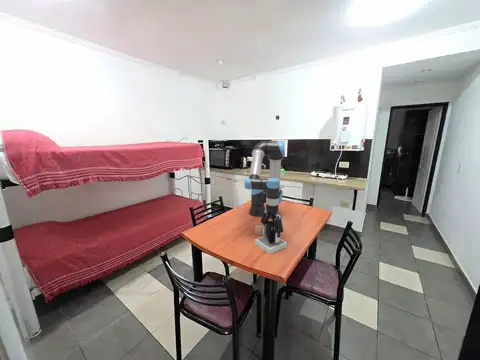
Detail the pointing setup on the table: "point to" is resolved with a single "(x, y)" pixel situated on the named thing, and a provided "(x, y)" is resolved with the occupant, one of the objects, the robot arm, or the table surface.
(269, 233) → the electronic device
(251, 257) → the table surface
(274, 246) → the stand
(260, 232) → the pale pink rounded piece
